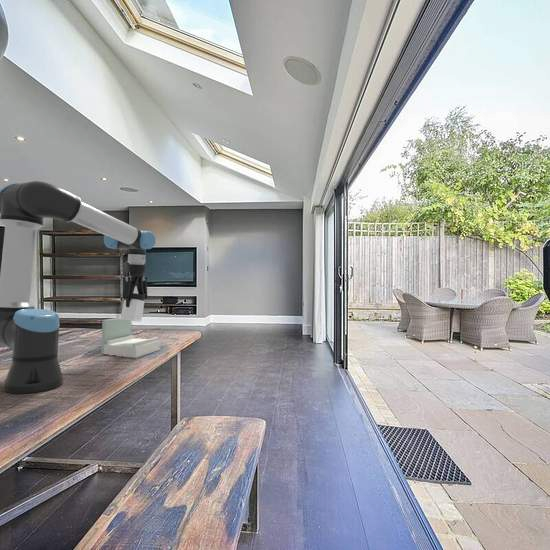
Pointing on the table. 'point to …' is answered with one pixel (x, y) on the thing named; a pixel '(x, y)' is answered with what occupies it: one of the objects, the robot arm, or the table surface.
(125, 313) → the jar
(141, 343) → the display stand
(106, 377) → the table surface
